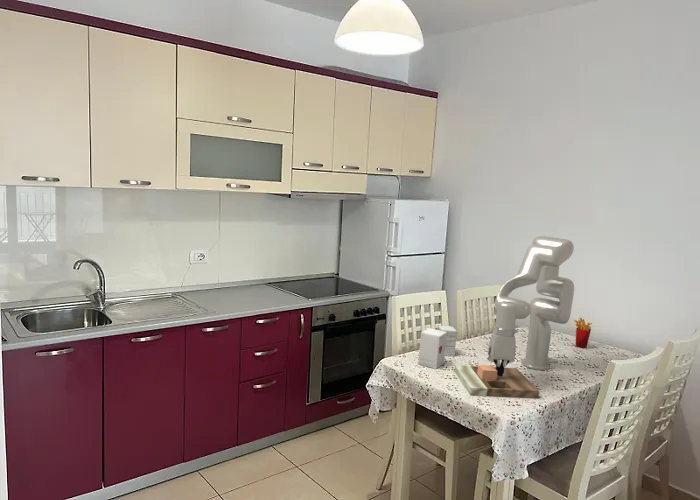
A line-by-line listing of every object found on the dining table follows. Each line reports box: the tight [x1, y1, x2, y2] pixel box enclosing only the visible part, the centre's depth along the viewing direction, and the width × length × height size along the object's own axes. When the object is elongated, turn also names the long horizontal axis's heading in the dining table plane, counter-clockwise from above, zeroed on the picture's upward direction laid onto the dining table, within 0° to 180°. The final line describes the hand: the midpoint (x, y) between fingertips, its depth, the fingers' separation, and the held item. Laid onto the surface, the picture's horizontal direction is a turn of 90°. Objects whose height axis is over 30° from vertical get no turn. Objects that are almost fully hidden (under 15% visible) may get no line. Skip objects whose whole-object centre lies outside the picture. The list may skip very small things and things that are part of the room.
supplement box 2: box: [437, 325, 458, 357], centre depth 245 cm, size 7×7×13 cm
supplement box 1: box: [417, 327, 447, 370], centre depth 229 cm, size 9×9×15 cm
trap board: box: [454, 364, 540, 399], centre depth 212 cm, size 27×24×3 cm
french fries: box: [574, 317, 593, 349], centre depth 272 cm, size 9×8×15 cm
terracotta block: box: [477, 364, 497, 380], centre depth 211 cm, size 6×6×4 cm
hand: (499, 375), depth 212 cm, fingers closed
